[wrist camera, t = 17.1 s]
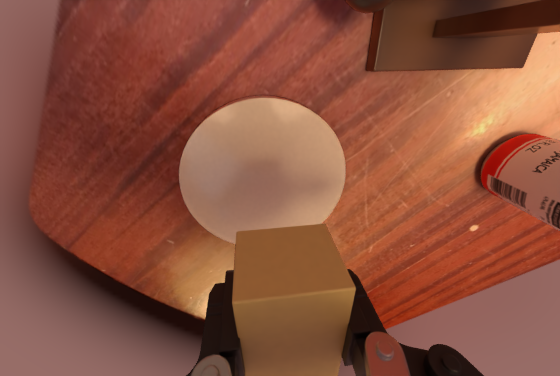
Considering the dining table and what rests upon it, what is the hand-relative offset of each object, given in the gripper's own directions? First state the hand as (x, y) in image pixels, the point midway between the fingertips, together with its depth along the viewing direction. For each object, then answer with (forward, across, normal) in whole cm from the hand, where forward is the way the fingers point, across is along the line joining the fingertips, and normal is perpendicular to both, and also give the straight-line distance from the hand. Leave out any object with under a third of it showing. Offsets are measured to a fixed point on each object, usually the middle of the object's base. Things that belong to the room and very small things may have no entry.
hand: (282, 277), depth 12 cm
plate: (+11, 0, 0) cm, 11 cm away
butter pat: (0, 0, 0) cm, 0 cm away
